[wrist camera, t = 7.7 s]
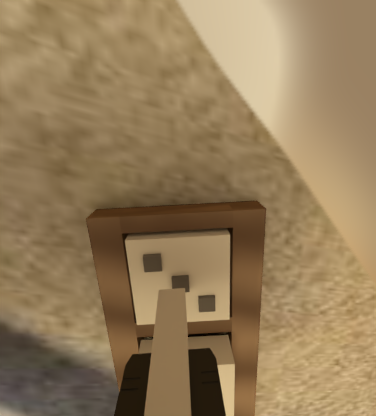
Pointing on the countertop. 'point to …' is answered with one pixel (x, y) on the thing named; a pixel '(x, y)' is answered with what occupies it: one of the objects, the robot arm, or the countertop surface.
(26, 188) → the countertop surface
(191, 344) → the tile one
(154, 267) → the tile three
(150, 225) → the board
